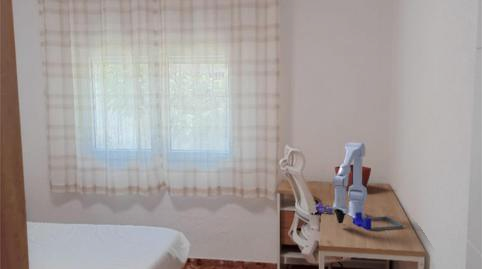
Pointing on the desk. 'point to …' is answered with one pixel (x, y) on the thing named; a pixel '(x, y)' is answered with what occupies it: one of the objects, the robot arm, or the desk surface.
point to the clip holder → (397, 226)
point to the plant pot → (365, 176)
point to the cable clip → (359, 221)
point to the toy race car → (324, 209)
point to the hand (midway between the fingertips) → (340, 222)
